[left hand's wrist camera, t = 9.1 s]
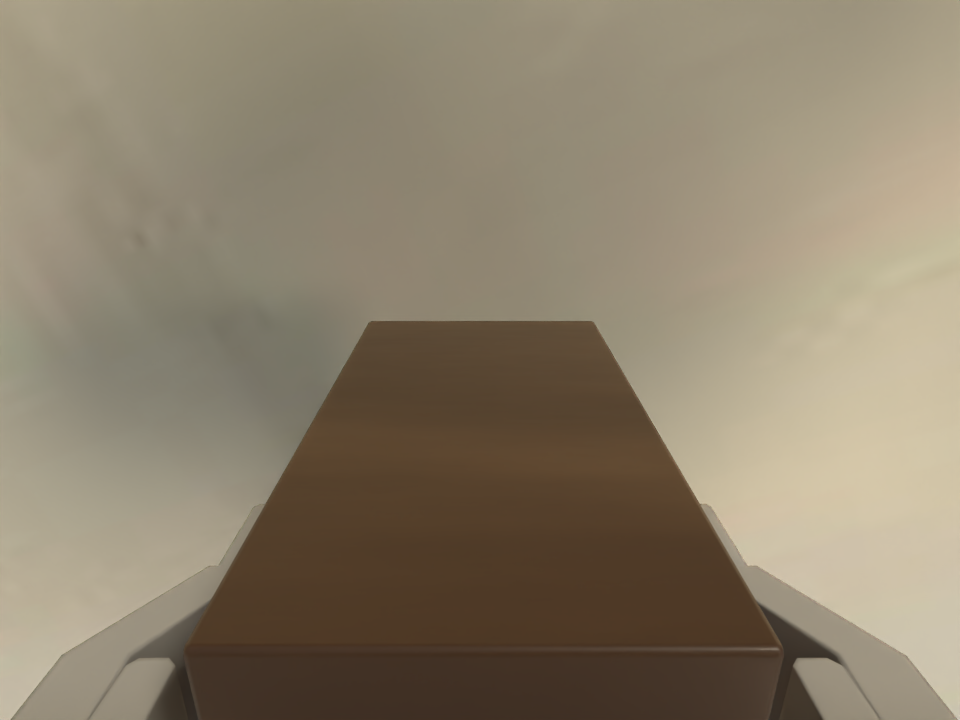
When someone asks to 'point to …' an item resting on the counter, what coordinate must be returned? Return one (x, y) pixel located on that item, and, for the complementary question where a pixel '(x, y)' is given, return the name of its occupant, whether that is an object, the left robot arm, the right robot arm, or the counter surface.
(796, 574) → the counter surface
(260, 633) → the bar
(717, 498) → the counter surface
